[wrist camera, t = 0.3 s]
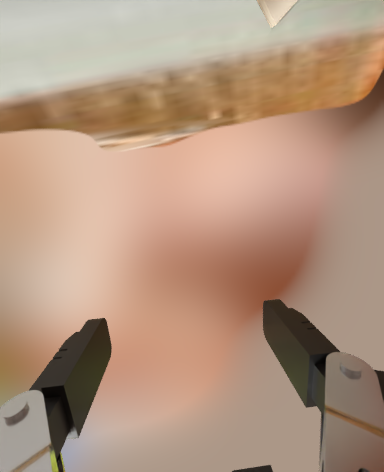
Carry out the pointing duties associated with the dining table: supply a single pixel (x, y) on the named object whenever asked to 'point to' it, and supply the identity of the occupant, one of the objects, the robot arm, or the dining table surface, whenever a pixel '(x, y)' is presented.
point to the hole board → (275, 9)
